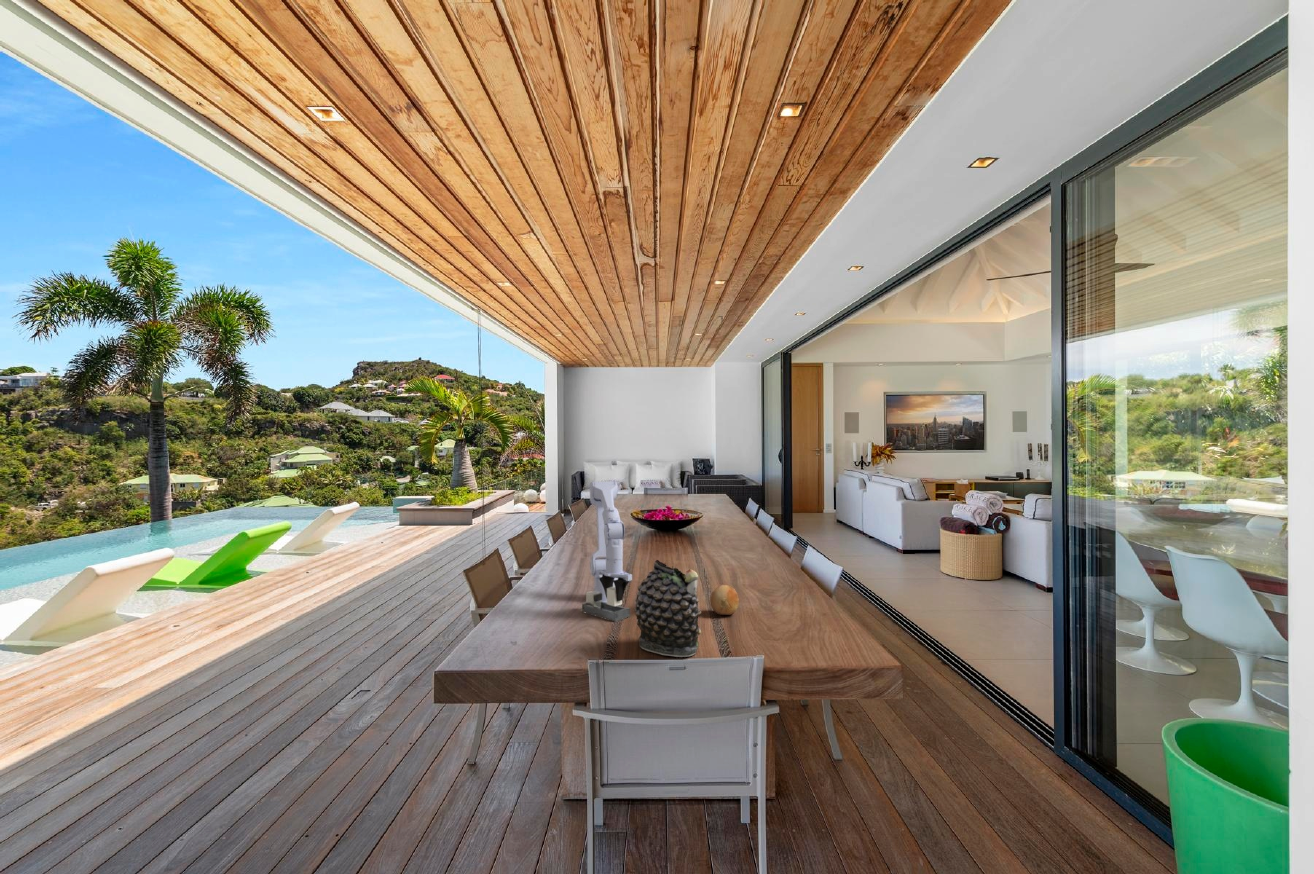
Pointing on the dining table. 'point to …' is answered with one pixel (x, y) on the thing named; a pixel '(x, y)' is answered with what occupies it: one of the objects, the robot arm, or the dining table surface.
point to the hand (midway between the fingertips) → (614, 599)
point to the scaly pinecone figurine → (668, 611)
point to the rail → (603, 607)
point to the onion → (724, 600)
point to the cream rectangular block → (612, 597)
